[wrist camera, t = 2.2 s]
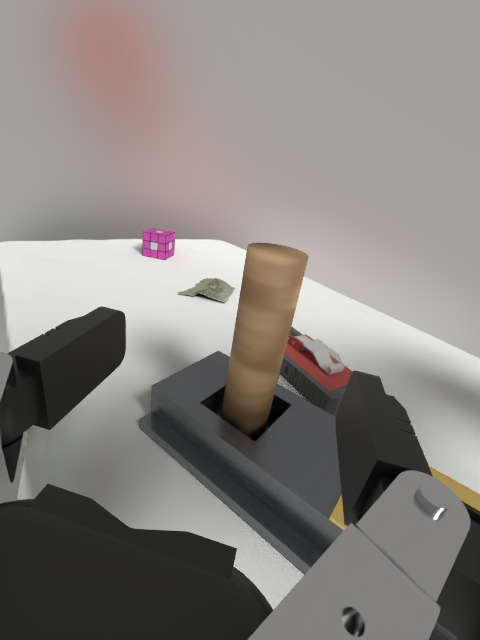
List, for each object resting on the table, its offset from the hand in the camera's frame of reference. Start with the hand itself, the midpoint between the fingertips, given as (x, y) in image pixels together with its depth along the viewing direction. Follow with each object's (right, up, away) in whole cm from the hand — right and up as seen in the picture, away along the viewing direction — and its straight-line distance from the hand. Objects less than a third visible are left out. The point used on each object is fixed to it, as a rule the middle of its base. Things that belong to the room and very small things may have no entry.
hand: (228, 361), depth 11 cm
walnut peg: (+1, -8, +16) cm, 18 cm away
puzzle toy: (-20, +17, +64) cm, 69 cm away
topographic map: (-8, +8, +50) cm, 51 cm away
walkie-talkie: (+8, -5, +30) cm, 31 cm away
